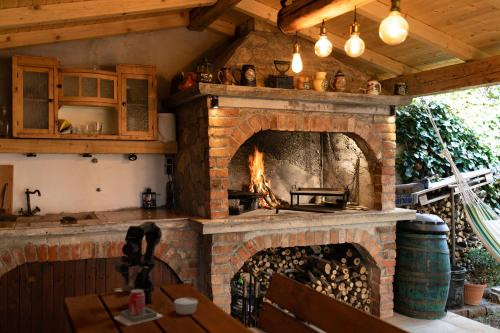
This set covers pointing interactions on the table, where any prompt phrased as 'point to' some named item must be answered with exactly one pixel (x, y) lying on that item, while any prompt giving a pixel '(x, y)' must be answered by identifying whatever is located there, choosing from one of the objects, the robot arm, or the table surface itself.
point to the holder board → (131, 320)
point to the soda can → (136, 302)
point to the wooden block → (133, 277)
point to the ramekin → (185, 305)
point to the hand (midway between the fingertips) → (135, 283)
